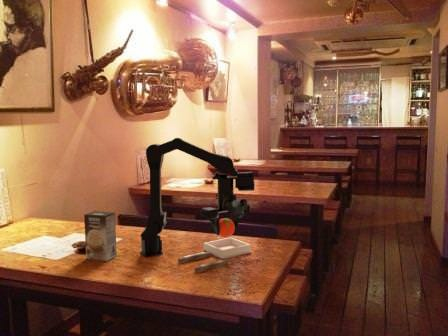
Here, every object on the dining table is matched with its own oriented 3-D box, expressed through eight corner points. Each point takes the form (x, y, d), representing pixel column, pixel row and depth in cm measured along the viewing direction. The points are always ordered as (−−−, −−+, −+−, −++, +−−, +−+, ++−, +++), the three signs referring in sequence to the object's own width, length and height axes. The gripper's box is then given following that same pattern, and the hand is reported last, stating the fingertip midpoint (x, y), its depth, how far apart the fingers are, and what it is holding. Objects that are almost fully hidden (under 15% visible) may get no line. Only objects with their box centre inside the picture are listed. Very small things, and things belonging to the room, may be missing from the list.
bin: (222, 259, 139) (222, 250, 138) (203, 250, 149) (203, 242, 148) (250, 252, 145) (250, 244, 145) (230, 244, 155) (230, 237, 155)
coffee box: (85, 259, 142) (82, 214, 140) (96, 253, 148) (94, 210, 146) (107, 261, 139) (105, 215, 137) (117, 255, 145) (115, 211, 143)
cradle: (196, 273, 126) (196, 267, 126) (178, 262, 136) (177, 257, 136) (227, 265, 133) (227, 259, 132) (208, 255, 143) (208, 250, 142)
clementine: (238, 239, 143) (238, 219, 143) (219, 241, 141) (219, 221, 141) (231, 233, 151) (231, 215, 150) (213, 235, 149) (213, 216, 148)
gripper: (216, 196, 133) (216, 243, 134) (260, 191, 143) (260, 234, 145) (198, 192, 142) (199, 236, 144) (241, 187, 153) (241, 228, 154)
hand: (226, 233), depth 146 cm, fingers closed on clementine, 7 cm apart
